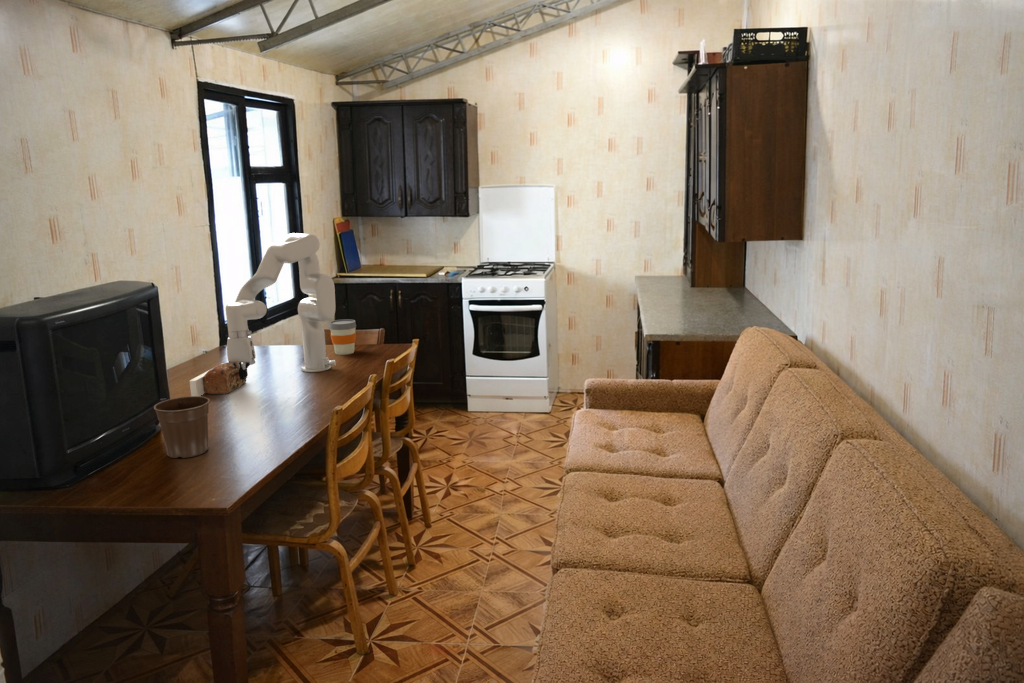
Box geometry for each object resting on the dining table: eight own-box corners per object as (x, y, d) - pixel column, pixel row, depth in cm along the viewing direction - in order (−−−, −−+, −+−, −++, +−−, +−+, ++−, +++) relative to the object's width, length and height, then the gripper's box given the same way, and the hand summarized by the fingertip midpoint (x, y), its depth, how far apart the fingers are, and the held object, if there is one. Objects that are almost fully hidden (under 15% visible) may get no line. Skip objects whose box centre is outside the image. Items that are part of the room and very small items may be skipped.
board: (229, 379, 343) (227, 363, 342) (197, 398, 316) (195, 380, 314) (223, 379, 343) (221, 363, 342) (191, 398, 316) (189, 380, 315)
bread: (228, 394, 320) (226, 370, 317) (203, 394, 321) (200, 370, 319) (248, 382, 338) (246, 359, 336) (224, 382, 339) (221, 359, 337)
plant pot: (149, 454, 254) (143, 405, 250) (196, 440, 266) (191, 393, 263) (177, 465, 244) (171, 413, 240) (225, 449, 256) (220, 400, 253)
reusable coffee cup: (326, 354, 384) (324, 323, 381) (339, 349, 396) (337, 318, 393) (350, 356, 380) (348, 324, 377) (362, 350, 392) (360, 319, 389)
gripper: (260, 331, 326) (265, 375, 331) (224, 332, 328) (229, 376, 332) (253, 335, 319) (258, 380, 323) (216, 336, 320) (221, 381, 324)
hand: (243, 378), depth 327 cm, fingers closed
